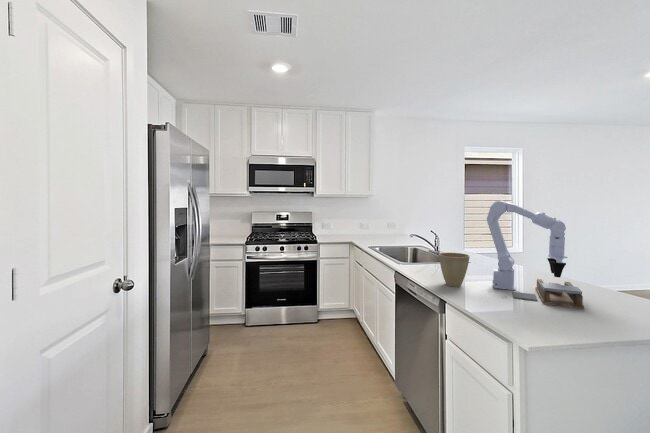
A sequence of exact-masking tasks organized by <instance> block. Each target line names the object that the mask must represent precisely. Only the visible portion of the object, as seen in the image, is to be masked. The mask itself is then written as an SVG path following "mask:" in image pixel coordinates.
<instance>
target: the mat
mask: <svg viewBox="0 0 650 433" xmlns="http://www.w3.org/2000/svg"><path fill="white" fill-rule="evenodd" d="M511 293H512V298H513V299H514V300H515V299H517V300H525V301H533V302H534V301H535V302H538V298H537V296H536V294H535V293H528V292H518V291H512V292H511Z"/></svg>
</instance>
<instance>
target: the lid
mask: <svg viewBox="0 0 650 433" xmlns="http://www.w3.org/2000/svg"><path fill="white" fill-rule="evenodd" d="M541 286H542V288H543V290H544V291H554V292H563V293H572V294H581V295H582V296H583V291H582V290H581V289H580V288H579V287H578V286H574V285H573V286H566V285H564V284H561V285H556V284H549V283H546V282H544V283H541Z"/></svg>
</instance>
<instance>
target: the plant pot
mask: <svg viewBox="0 0 650 433" xmlns="http://www.w3.org/2000/svg"><path fill="white" fill-rule="evenodd" d="M470 257H471V255H469V254H467V253H461V252H440V253H438V258H439V265H440V270H441V273H442V276H443V280H444V282H445V285H447V286H449V287H456V288H457V287H462V285H463V282H464V281H465V277H466V274H467V271H468V267H469V263H470V262H469V261H470Z"/></svg>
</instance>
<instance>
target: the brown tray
mask: <svg viewBox="0 0 650 433" xmlns="http://www.w3.org/2000/svg"><path fill="white" fill-rule="evenodd" d="M541 283H545V282H544V280H543V279H541V278H540V279H539V278H536V286H535V292H536V293H537V295H538V297H539V299H540V302H541V303H542V304H544V305H551V306H560V307H568V308H574V309H575V308H576V309H585V306H584V305H583V299H584V296H583V294H582V295H581V294H572V293H563V292H562V295H558V294H550V292H549V291H544V290H543V288H542V286H541ZM563 285H566V286H574V284H572V283H571V281H564V284H563Z"/></svg>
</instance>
